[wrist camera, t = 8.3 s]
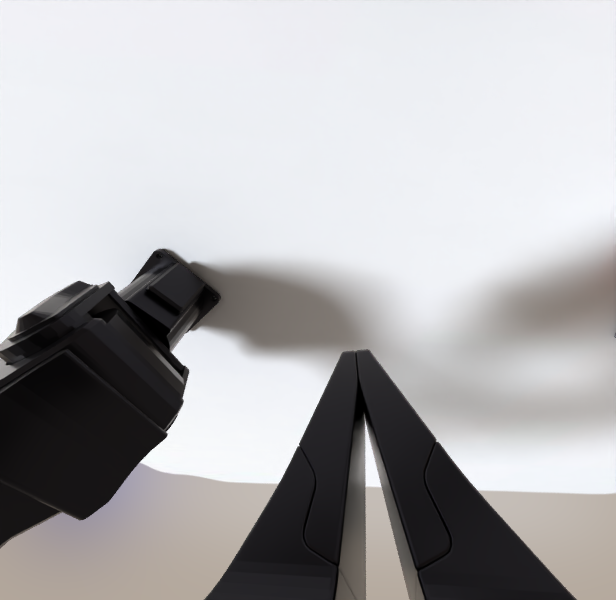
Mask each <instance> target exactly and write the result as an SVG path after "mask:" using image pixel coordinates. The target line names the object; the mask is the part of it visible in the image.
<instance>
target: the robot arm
mask: <svg viewBox="0 0 616 600" xmlns="http://www.w3.org/2000/svg"><path fill="white" fill-rule="evenodd" d="M159 254H160V255H161V256H162V257H160V256H159ZM114 289H115V288H114V286H113V285H112V284H111V283H110V282H109V281H108V282H106V283H103V284H101V285H94V286H93V285H90V284H87V283H84V282H81V281H77V282H75V283H73V284H71V285H69V286H67V287H65V288H64V289H62V290H60V291H58V292H57V293H55V294H53V295H51V296H50V297H48V298H46V299H45V300H43V301H42V302H40V303H39V304H38V305H36V306H35V307H33V308H32V309H31V310H29V311H28V312H26V313H25V314H23V315H22V316H21V317H19V318H18V321H17V326H16V330H15V331H14V332H12V333H11V334H10V335H9V336H8V337H7V339H6V340H4V341H3V342H2V343H1V344H0V358H1V359H0V548H1V547H2V546H3V545H5V544H6V543H7V542H8V541H9V540H11V539H12V538H14V537H16V536H18V535H19V534H22V533H23V532H25V531H27V530H29V529H31V528H33V527H35V526H37V525H39V524H41V523H43V522H44V521H46V520H48V519H50V518H52V517H54V516H56V515H57V514H60V513H62V512H63V513H65V514H67V515H70V516H72V517H74V518H76V519H78V520H84V519H86V518H87V517H89V516H90V515H92V514H93V513H94V512H96V511H97V510H98V509H100V508H101V507H102V506H104V505H105V504H106V503H107V502H109V500H110V499H111V498H112V497H113V495H114V494H115V493H116V491H117V490H118V489H119V487H120V486H121V485H122V484H123V482H124V480H125V479H126V478H127V477H128V476H129V474H130V473H131V472H132V471H133V469H134V468H135V467H136V466H137V464H138V463H139V462H140V461H141V460H142V459H143V458H144V457H145V456H146V455H147V454H148V453H149V452H150V451H151V450H152V449H153V448H155V447H156V446H157V445H158V444H159V443H161V442H162V441H163V440H164V439H165V438H166V437H167V435H168V434H167V433H166V431H167V430H168V429H169V428H170V427H171V425H172V424H173V423H174V421H175V419H176V417H177V415H178V413H179V411H180V409H181V407H182V405H183V402H184V400H183V399H182V398H183V394H184V390H185V386H186V382H187V378H188V374H189V369H188V368H187V367H186V366H183V365H182V364H181V363H180V362H179V360H178V359H177V358H176V357H175V356H174V355H173V354H172V353H171V352H172V350H173V349H174V348H175V346H176V345H177V344H178V342H179V341H180V340H181V338H182V337H183V336H184V334H185V333H187V332H188V331H189V330H190V329H191V328H192V327H193V326H194V325H195V324H196V323H197V322H198V321H200V320H201V319H202V318H203V317H204V316H205V315H206V314H207V313H208V312H209V311H210V310H211V309H212V308H213V307H214V306H215V305H216V304H217V303H218V302H219V301H220V299H221V296H220V295H219V294H218V293H217V292H216V291H215V290H213V289H212V288H211V287H210V286H208V285H207V284H206V283H205V282H203V281H202V280H201V279H199V278H198V277H197V276H196V275H194V274H193V273H192V272H191V271H189V270H188V269H187V268H186V267H184V266H183V265H182V264H181V263H179V262H178V261H177V260H176V259H174V258H173V257H172V256H171V255H169V254H168V253H167V252H166V251H164V250H162V249H157V250H156V251H154V252H153V254H152V255H151V256H150V258H149V259H148V260H147V262H146V263H145V265H144V266H143V267H142V269H141V270H140V271H139V273H138V274H137V275H136V277H135V278H134V280H133V281H132V282H131V284H129V285H128V286H127V287H125V288H124V289H122V290H121V291H120V292H118V293H117V292H116V291H115V290H114ZM213 297H215V298H216V299H214V298H213ZM364 414H365V417H364ZM365 420H366V425H367V429H368V433H369V438H370V442H371V446H372V450H373V454H374V458H375V462H376V466H377V470H378V474H379V478H380V482H381V486H382V490H383V494H384V498H385V502H386V506H387V510H388V514H389V518H390V522H391V526H392V530H393V535H394V539H395V543H396V546H397V551H398V555H399V558H400V563H401V567H402V571H403V575H404V579H405V583H406V587H407V591H408V595H409V599H410V600H576V598H575V597H574V596H573V595H572V594H571V593H570V592H569V591H568V590H567V589H566V588H565V587H564V586H563V585H562V584H561V583H560V582H559V580H558V579H557V578H556V577H555V576H554V575H553V574H552V573H551V572H550V571H549V570H548V568H547V567H546V566H545V565H544V564H543V563H542V562H541V561H540V560H539V558H538V557H537V556H536V555H535V554H534V553H533V552H532V551H531V550H530V548H529V547H527V545H526V544H525V543H524V542H523V541H522V540H521V539H520V537H519V536H518V535H517V534H516V533H515V532H514V531H513V530H512V529H511V528H510V526H508V524H507V523H506V522H505V521H504V520H503V519H502V518H501V517H500V515H498V513H497V512H496V511H495V510H494V509H493V508H492V507H491V506H490V504H489V503H488V502H487V501H486V500H485V499H484V498H483V496H482V495H481V494H480V493H479V492H478V491H477V489H476V488H475V487H474V486H473V485H472V484H471V483H470V481H469V480H468V479H467V478H466V477H465V475H464V474H463V473H462V472H461V470H460V469H459V468H458V467H457V465H456V464H455V463H454V461H453V460H452V459H451V458H450V456H449V455H448V454H447V452H446V451H445V450H444V448H443V447H442V446H441V444H440V443H439V442H436V438H435V437H434V435H433V434H432V433H431V431H430V430H429V429H428V427H427V426H426V425H425V423H424V422H423V421H422V419H421V418H420V417H419V415H418V414H417V413H416V411H415V410H414V409H413V407H412V406H411V405H410V403H409V402H408V401H407V399H406V398H405V397H404V395H403V394H402V393H401V391H400V390H399V389H398V387H397V386H396V385H395V383H394V382H393V381H392V379H391V378H390V377H389V375H388V374H387V373H386V371H385V370H384V369H383V368H382V366H381V365H380V364H379V362H378V361H377V360H376V358H375V357H374V356H373V354H372V353H371V352H370V350H368V349H366V350H357V351H356V352H355V351H346V352H343V353H342V355H341V357H340V359H339V361H338V363H337V365H336V367H335V369H334V371H333V374H332V376H331V378H330V380H329V382H328V384H327V386H326V388H325V390H324V393H323V395H322V397H321V399H320V401H319V403H318V405H317V407H316V409H315V411H314V414H313V416H312V418H311V420H310V422H309V424H308V426H307V428H306V430H305V433H304V435H303V437H302V439H301V441H300V443H299V446H298V447H297V449H296V451H295V453H294V455H293V458H292V460H291V462H290V464H289V466H288V468H287V469H286V471H285V473H284V475H283V477H282V479H281V481H280V483H279V485H278V486H277V488H276V490H275V492H274V493H273V495H272V497H271V498H270V500H269V502H268V504H267V505H266V507H265V509H264V510H263V512H262V513H261V515H260V517H259V518H258V520H257V522H256V523H255V525H254V527H253V528H252V530H251V532H250V533H249V535H248V536H247V538H246V540H245V541H244V543H243V545H242V546H241V548H240V550H239V551H238V553H237V554H236V556H235V558H234V560H233V561H232V563H231V564H230V566H229V567H228V569H227V571H226V572H225V573H224V575H223V576H222V578H221V579H220V581H219V582H218V583H217V585H216V586H215V587H214V588H213V590H212V591H211V592H210V594H209V595H208V596H207V597H206V598H205V599H204V600H366V533H365V532H366V531H365V530H366V526H365V524H366V523H365V522H366V521H365V518H366V517H365Z"/></svg>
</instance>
